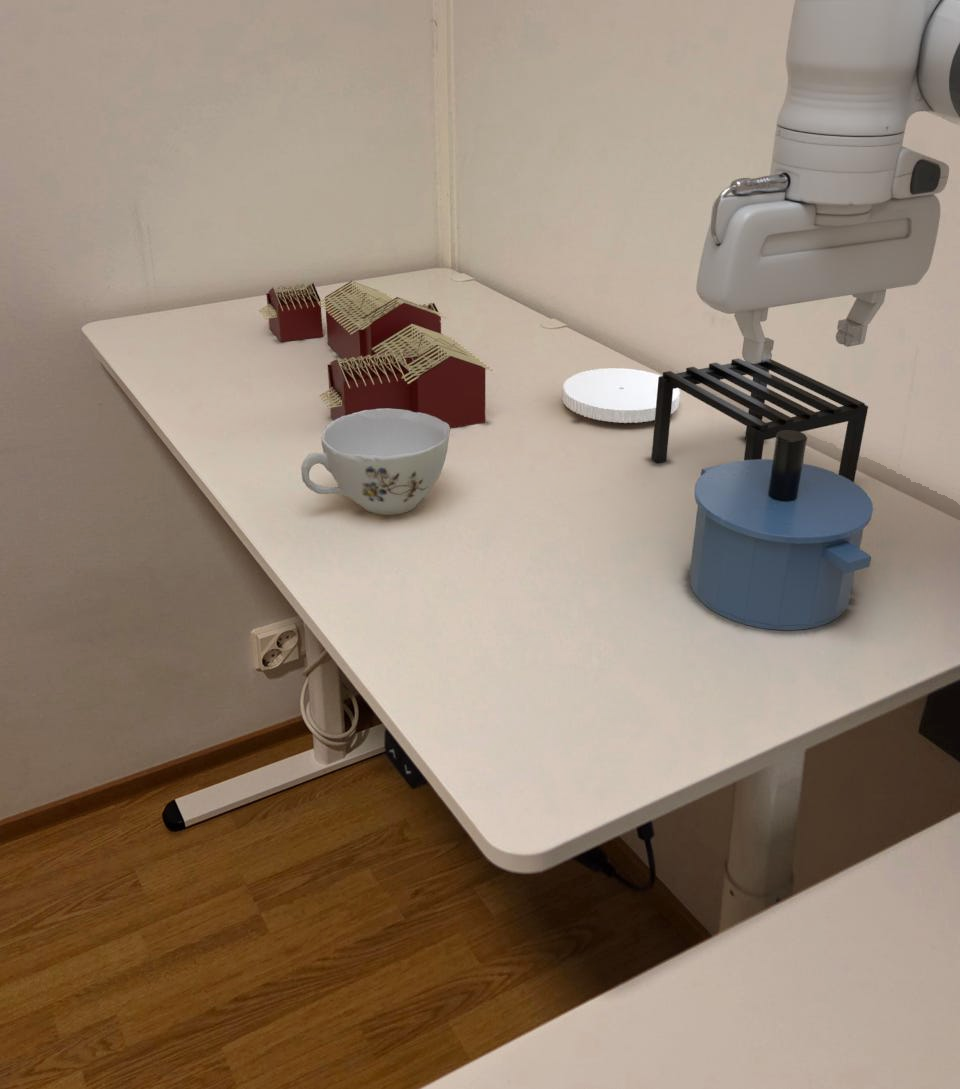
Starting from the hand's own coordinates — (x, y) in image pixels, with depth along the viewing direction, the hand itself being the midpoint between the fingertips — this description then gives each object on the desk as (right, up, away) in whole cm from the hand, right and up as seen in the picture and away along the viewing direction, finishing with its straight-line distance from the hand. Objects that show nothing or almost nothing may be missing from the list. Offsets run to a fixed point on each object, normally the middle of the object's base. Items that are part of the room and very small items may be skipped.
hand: (803, 352), depth 87 cm
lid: (0, -12, +6) cm, 13 cm away
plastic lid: (-8, +1, +47) cm, 48 cm away
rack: (+3, -8, +31) cm, 32 cm away
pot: (0, -19, +11) cm, 22 cm away
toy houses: (-41, +8, +58) cm, 71 cm away
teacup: (-36, -11, +24) cm, 45 cm away
